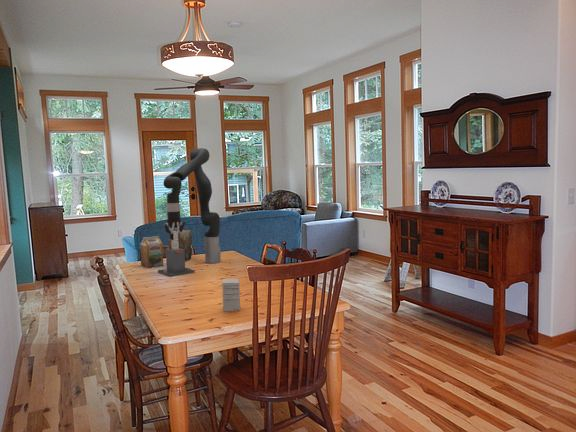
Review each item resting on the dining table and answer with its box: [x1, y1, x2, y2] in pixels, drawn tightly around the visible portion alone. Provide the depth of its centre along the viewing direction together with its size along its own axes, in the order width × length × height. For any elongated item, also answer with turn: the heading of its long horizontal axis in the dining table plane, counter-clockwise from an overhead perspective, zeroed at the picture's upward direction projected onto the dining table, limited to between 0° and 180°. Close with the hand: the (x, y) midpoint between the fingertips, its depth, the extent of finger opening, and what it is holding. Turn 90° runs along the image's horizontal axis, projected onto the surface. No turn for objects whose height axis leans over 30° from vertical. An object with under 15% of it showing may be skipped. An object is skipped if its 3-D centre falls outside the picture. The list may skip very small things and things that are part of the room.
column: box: [171, 230, 179, 250], centre depth 285 cm, size 3×3×18 cm
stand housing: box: [157, 248, 196, 278], centre depth 286 cm, size 16×16×14 cm
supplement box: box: [221, 278, 241, 312], centre depth 209 cm, size 7×7×13 cm
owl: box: [178, 229, 193, 262], centre depth 330 cm, size 13×13×20 cm
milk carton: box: [139, 235, 164, 269], centre depth 308 cm, size 11×11×19 cm
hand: (174, 239), depth 285 cm, fingers closed on column, 3 cm apart
